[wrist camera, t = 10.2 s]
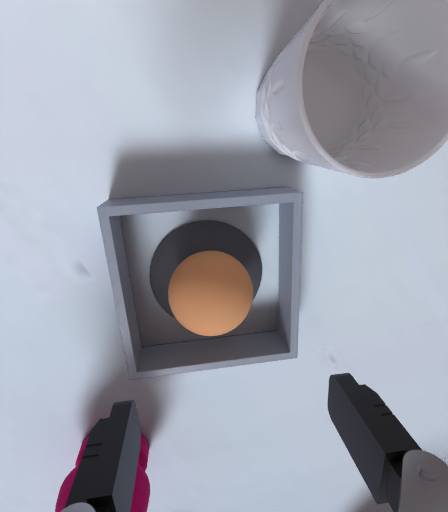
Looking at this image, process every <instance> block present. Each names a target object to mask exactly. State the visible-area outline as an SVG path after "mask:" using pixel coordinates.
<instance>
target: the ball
mask: <svg viewBox="0 0 448 512" xmlns="http://www.w3.org/2000/svg"><path fill="white" fill-rule="evenodd" d="M168 300H169V304H170V307H171V310H172V312H173V314H174V316H175V317H176V319H177V320H178V321H179V323H180V324H181V325H182V326H184V327H185V328H186V329H188V330H190V331H191V332H193V333H196V334H199V335H204V336H217V335H222V334H225V333H227V332H230V331H231V330H233V329H235V328H236V327H237V326H238V325H240V324H241V323H242V321H243V320H244V319H245V317H246V316H247V314H248V313H249V310H250V308H251V305H252V300H253V285H252V281H251V278H250V276H249V274H248V272H247V270H246V269H245V267H244V266H243V265H242V264H241V263H240V262H239V261H238V260H237V259H235V258H234V257H232V256H231V255H229V254H226V253H224V252H220V251H202V252H198V253H195V254H193V255H191V256H189V257H188V258H186V259H185V260H183V261H182V262H181V263H180V264H179V266H178V267H177V268H176V269H175V271H174V273H173V274H172V277H171V279H170V283H169V288H168Z"/></svg>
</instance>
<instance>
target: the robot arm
mask: <svg viewBox="0 0 448 512" xmlns="http://www.w3.org/2000/svg"><path fill="white" fill-rule="evenodd" d="M328 411H329V414H330V417H331V420H332V422H333V424H334V425H335V427H336V429H337V431H338V433H339V435H340V436H341V438H342V440H343V442H344V444H345V446H346V448H347V449H348V451H349V453H350V455H351V457H352V459H353V460H354V462H355V464H356V466H357V468H358V470H359V472H360V473H361V475H362V477H363V479H364V481H365V483H366V484H367V486H368V488H369V490H370V492H371V494H372V495H373V497H374V499H375V501H376V503H377V504H382V503H387V502H389V504H390V506H391V508H392V509H393V512H448V466H447V465H446V464H445V463H444V462H443V461H442V460H441V459H440V458H438V457H437V456H435V455H433V454H431V453H429V452H426V451H422V449H421V448H420V447H419V446H418V445H417V443H416V442H415V441H414V439H413V438H412V437H411V436H410V434H409V433H408V432H407V431H406V429H405V428H404V427H403V426H402V424H401V423H400V422H399V420H398V419H397V418H396V417H395V415H393V414H392V412H391V410H390V409H389V408H388V407H387V406H386V405H385V403H384V401H383V400H382V399H381V398H380V396H379V395H378V394H377V393H376V392H375V391H373V390H372V389H370V388H369V387H368V386H366V385H365V384H364V385H358V383H357V382H356V380H355V379H354V378H353V376H352V375H351V374H350V373H343V374H336V375H331V376H330V378H329V392H328ZM140 445H141V431H140V425H139V420H138V414H137V409H136V404H135V401H134V400H131V401H123V402H115V403H114V405H113V407H112V411H111V414H110V418H105V419H100V420H99V421H98V422H97V424H96V425H95V426H94V428H93V429H92V430H91V432H90V434H89V437H88V440H87V443H86V448H85V449H84V452H83V455H82V459H81V461H80V464H79V467H78V470H77V472H76V475H75V478H74V481H73V484H72V487H71V490H70V493H69V496H68V499H67V502H66V504H65V507H64V509H63V510H62V511H60V512H130V511H131V504H132V498H133V491H134V485H135V478H136V472H137V465H138V459H139V452H140Z"/></svg>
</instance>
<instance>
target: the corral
mask: <svg viewBox="0 0 448 512" xmlns="http://www.w3.org/2000/svg"><path fill="white" fill-rule="evenodd" d="M302 198H303V192H300V191H297V190H295V189H292V188H289V187H278V188H264V189H250V190H236V191H222V192H208V193H194V194H180V195H166V196H152V197H138V198H124V199H110V200H107V201H106V202H104V203H103V204H101V205H100V206H98V207H97V211H98V216H99V221H100V227H101V232H102V237H103V242H104V247H105V253H106V258H107V263H108V268H109V274H110V279H111V284H112V289H113V294H114V300H115V305H116V310H117V315H118V321H119V326H120V331H121V336H122V341H123V347H124V352H125V357H126V362H127V368H128V373H129V378H130V380H134V379H141V378H149V377H156V376H164V375H171V374H179V373H187V372H194V371H202V370H209V369H217V368H224V367H232V366H239V365H247V364H255V363H262V362H270V361H277V360H285V359H292V358H297V353H298V322H299V291H300V260H301V229H302ZM276 203H279V317H278V331H270V332H261V333H253V334H245V335H237V336H228V337H220V338H212V339H204V340H196V341H187V342H179V343H171V344H163V345H155V346H146V347H142V345H141V339H140V333H139V327H138V321H137V316H136V310H135V304H134V298H133V292H132V286H131V280H130V274H129V268H128V262H127V256H126V250H125V244H124V238H123V232H122V226H121V220H120V215H133V214H146V213H159V212H172V211H185V210H198V209H211V208H224V207H237V206H250V205H263V204H276Z"/></svg>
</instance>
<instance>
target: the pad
mask: <svg viewBox="0 0 448 512" xmlns="http://www.w3.org/2000/svg"><path fill="white" fill-rule="evenodd" d="M202 251H220V252H224V253H226V254H229V255H231V256H232V257H234V258H235V259H237V260H238V261H239V262H240V263H241V264H242V265H243V266H244V267H245V269H246V270H247V272H248V274H249V276H250V278H251V281H252V285H253V299H254V297H255V295H256V293H257V291H258V289H259V286H260V282H261V276H262V267H261V261H260V257H259V254H258V252H257V250H256V248H255V246H254V245H253V243H252V242H251V241H250V239H249V238H248V237H247V236H246V235H245V234H244V233H242V232H241V231H240V230H238V229H236V228H235V227H233V226H230V225H228V224H225V223H221V222H217V221H199V222H193V223H190V224H187V225H184V226H182V227H180V228H178V229H176V230H175V231H173V232H172V233H171V234H169V235H168V236H167V237H166V238H165V239H164V240H163V241H162V242H161V244H160V245H159V246H158V248H157V250H156V252H155V253H154V256H153V259H152V262H151V266H150V284H151V288H152V291H153V294H154V296H155V298H156V300H157V301H158V303H159V304H160V305H161V307H162V308H163V309H164V310H165V311H166V312H167V313H169V314H170V315H171V316H173V317H175V316H174V314H173V312H172V310H171V307H170V304H169V300H168V288H169V283H170V279H171V277H172V274H173V273H174V271H175V269H176V268H177V267H178V266H179V264H180V263H181V262H182V261H183V260H185V259H186V258H188V257H189V256H191V255H193V254H195V253H198V252H202ZM175 318H176V317H175Z"/></svg>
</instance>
